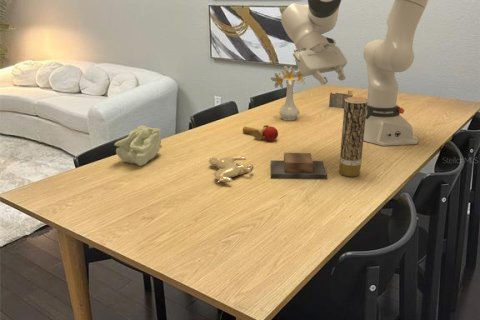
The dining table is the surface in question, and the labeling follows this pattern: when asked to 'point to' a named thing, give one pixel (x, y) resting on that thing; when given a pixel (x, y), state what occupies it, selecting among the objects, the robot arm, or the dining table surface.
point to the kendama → (263, 132)
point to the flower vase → (288, 91)
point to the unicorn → (229, 168)
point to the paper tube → (352, 136)
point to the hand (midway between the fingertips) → (334, 81)
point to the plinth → (314, 175)
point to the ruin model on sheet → (338, 99)
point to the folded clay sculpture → (139, 145)
